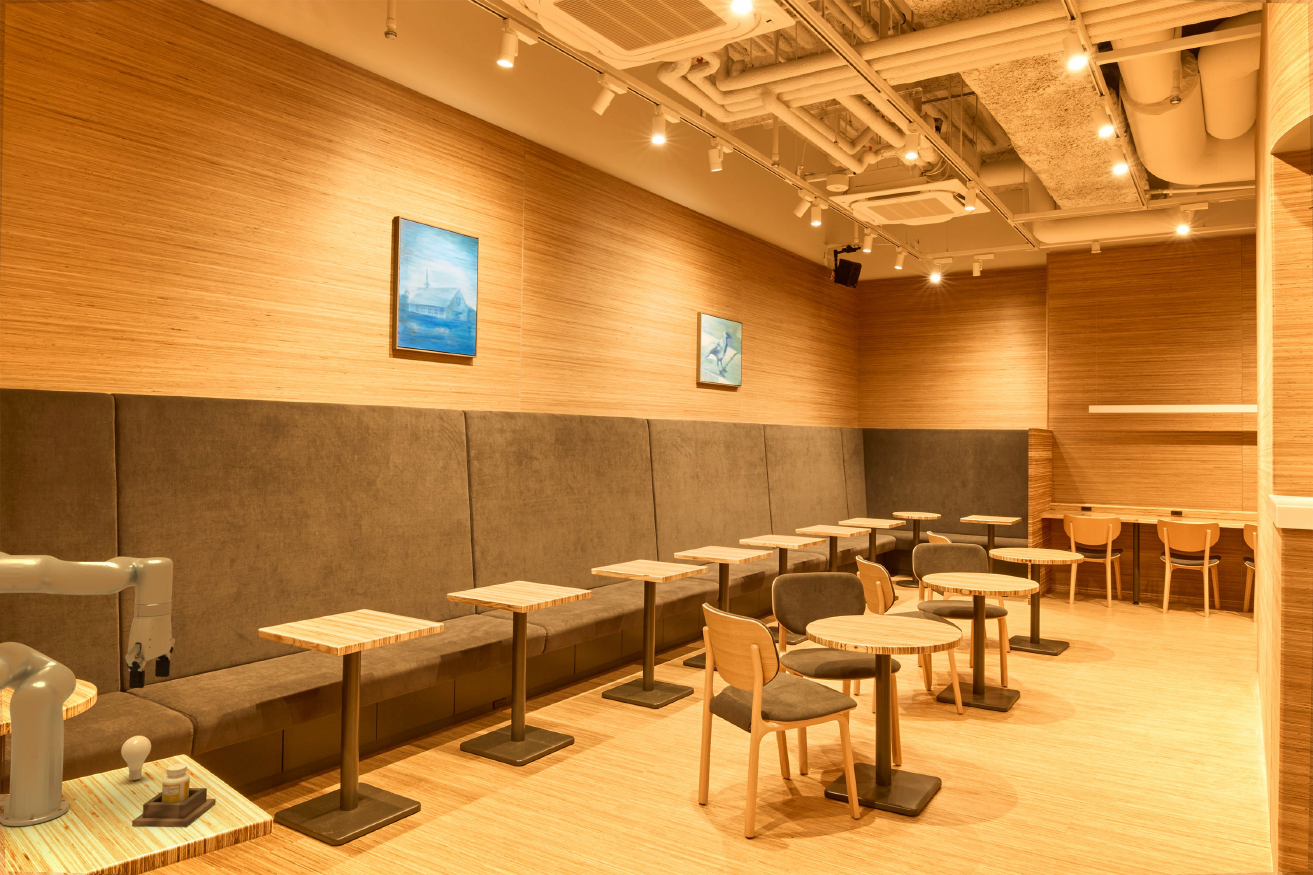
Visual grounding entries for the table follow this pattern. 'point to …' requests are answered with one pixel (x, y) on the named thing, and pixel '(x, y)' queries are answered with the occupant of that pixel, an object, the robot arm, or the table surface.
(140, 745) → the lightbulb
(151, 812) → the holder
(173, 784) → the supplement bottle
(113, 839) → the table surface
